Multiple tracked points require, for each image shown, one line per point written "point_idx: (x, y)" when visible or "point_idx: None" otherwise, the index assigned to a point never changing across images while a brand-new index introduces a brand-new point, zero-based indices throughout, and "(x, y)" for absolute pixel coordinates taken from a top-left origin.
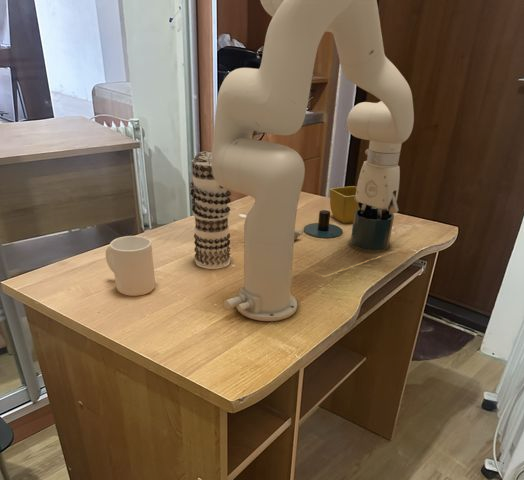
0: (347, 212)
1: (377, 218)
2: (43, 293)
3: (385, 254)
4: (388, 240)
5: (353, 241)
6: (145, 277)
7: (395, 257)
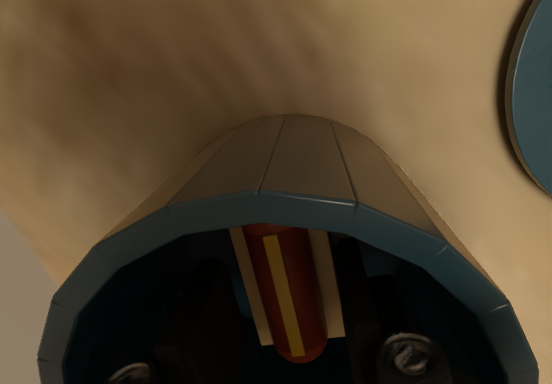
0: None
1: (154, 368)
2: None
3: None
4: None
5: (313, 122)
6: None
7: (85, 249)
